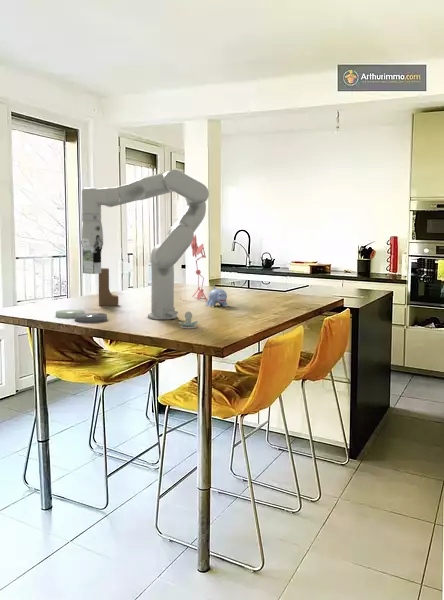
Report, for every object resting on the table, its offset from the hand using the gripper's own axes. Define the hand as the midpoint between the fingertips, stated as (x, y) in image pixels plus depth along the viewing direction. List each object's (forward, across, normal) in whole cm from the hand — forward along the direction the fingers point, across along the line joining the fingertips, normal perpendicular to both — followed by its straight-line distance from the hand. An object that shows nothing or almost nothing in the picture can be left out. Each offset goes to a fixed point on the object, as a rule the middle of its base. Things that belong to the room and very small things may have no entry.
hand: (91, 261), depth 218 cm
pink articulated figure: (+24, +25, -74) cm, 82 cm away
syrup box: (+5, 0, 0) cm, 5 cm away
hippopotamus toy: (+24, -2, -68) cm, 72 cm away
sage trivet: (+24, +12, +4) cm, 28 cm away
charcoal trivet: (+24, -1, +1) cm, 24 cm away
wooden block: (+24, +29, -25) cm, 45 cm away
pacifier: (+24, -38, -21) cm, 50 cm away
